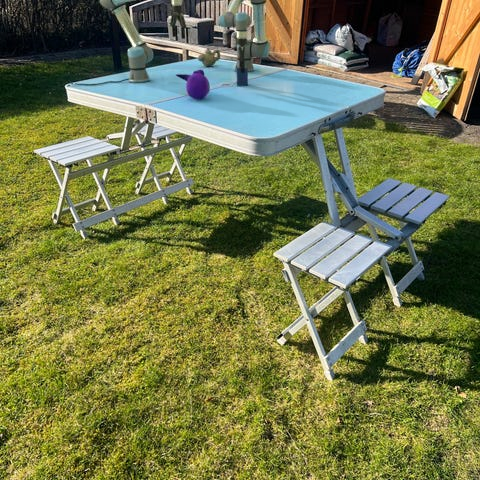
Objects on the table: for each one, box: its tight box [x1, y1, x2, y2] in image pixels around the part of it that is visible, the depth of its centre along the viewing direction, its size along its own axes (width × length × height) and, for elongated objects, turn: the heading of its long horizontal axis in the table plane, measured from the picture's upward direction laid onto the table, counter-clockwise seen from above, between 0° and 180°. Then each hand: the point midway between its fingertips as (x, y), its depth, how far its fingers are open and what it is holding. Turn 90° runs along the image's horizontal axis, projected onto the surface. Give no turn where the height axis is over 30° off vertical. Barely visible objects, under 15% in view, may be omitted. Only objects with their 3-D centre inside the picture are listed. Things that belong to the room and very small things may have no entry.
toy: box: [175, 69, 211, 100], centre depth 285 cm, size 16×18×27 cm
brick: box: [236, 67, 249, 87], centre depth 317 cm, size 8×5×12 cm, turn 93°
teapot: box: [197, 47, 221, 68], centre depth 386 cm, size 21×12×15 cm, turn 120°
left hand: (178, 37), depth 331 cm, fingers open, 13 cm apart
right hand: (242, 71), depth 315 cm, fingers open, 13 cm apart
